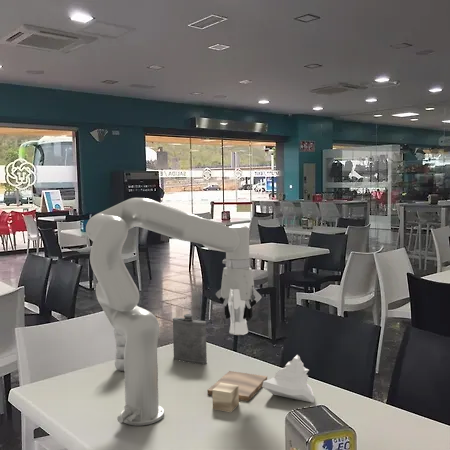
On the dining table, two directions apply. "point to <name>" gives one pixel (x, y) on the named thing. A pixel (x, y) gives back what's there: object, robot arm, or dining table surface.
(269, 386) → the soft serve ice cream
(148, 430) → the dining table surface
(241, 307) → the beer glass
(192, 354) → the flask
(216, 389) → the beech block
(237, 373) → the serving board
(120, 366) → the plastic bottle
